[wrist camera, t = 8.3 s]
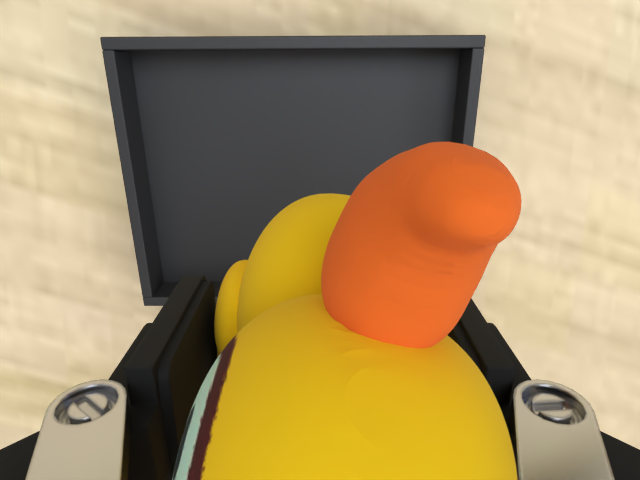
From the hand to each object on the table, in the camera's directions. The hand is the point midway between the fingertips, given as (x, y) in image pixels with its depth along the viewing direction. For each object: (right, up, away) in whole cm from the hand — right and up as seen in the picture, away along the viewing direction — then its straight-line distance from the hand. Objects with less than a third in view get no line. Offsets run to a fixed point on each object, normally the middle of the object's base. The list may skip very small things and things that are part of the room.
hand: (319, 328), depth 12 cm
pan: (-1, +6, +16) cm, 17 cm away
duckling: (0, +1, +2) cm, 2 cm away
